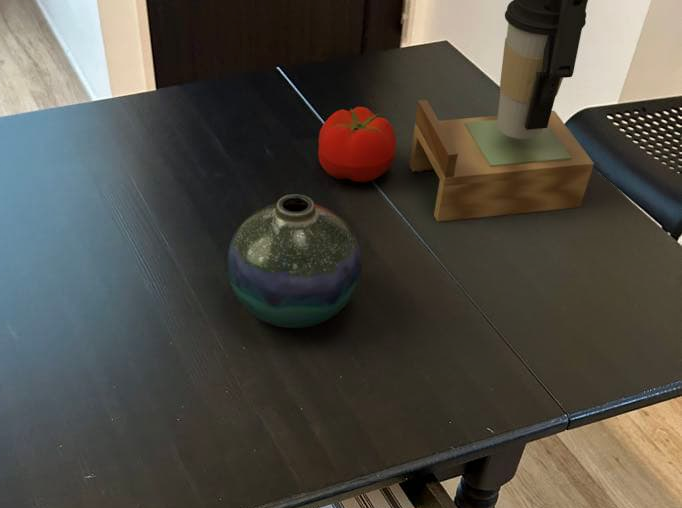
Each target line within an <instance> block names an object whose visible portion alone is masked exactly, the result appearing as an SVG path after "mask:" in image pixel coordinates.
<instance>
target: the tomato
mask: <svg viewBox="0 0 682 508" xmlns="http://www.w3.org/2000/svg"><path fill="white" fill-rule="evenodd" d="M379 115H380V113H378V114H375V113H373V112H372V111H371V110H370V109H369V108H367V107H364V106H356V107H354V108H353V109H352V108H351V107H350V108H349V110H347V109H339V110H337V111H335V112H333V113H332V114H331V115H330V116H329V117H328V118H327V119H326V120H325V122H324V123H323V125H322V126H321V128H320V130H319V135H318V161H319V163H320V166H321V168H323V169H324V171H325V172H326V174H328V175H329V176H331V177H333V178H335V179H336V180H347V179H348V180H350V181H352V182H355V183H367V182H370V181H373V180H375V179H376V178H379V177H380V176H382V175H384V174H385V173H386V172H387V171H388V170H389V169H390V168H391V166H392V165H393V163H394V159H395V155H396V154H395V153H396V150H397V137H396V134H395V131H394V128H393V127H392V125H391V124H390V122H389V121H388V120H387V119H386V118H384V117H381V116H379ZM378 116H379V117H378Z"/></svg>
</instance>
